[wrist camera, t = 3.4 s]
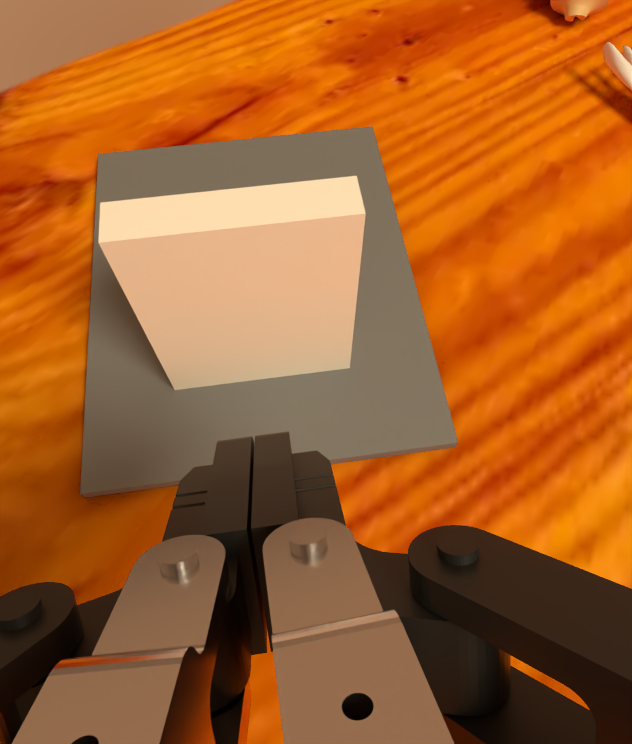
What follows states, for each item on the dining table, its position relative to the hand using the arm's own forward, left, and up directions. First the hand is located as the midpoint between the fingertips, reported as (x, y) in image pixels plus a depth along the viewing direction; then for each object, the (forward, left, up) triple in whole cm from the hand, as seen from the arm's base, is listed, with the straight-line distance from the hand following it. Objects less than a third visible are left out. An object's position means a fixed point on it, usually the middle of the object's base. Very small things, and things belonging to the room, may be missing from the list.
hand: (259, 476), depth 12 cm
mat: (+7, +12, -12) cm, 18 cm away
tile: (+4, +8, -11) cm, 15 cm away
